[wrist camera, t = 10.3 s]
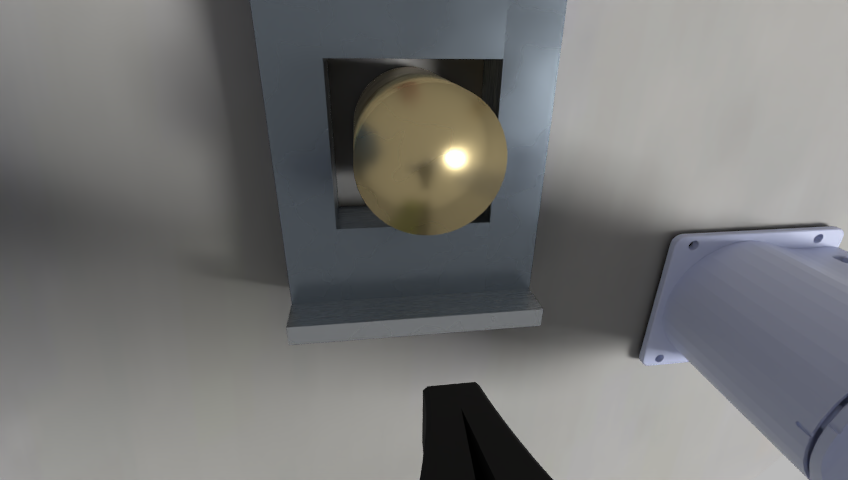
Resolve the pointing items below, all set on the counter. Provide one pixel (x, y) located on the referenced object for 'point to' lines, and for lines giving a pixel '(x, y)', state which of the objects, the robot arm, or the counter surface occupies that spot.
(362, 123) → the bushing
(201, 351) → the counter surface
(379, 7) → the frame
